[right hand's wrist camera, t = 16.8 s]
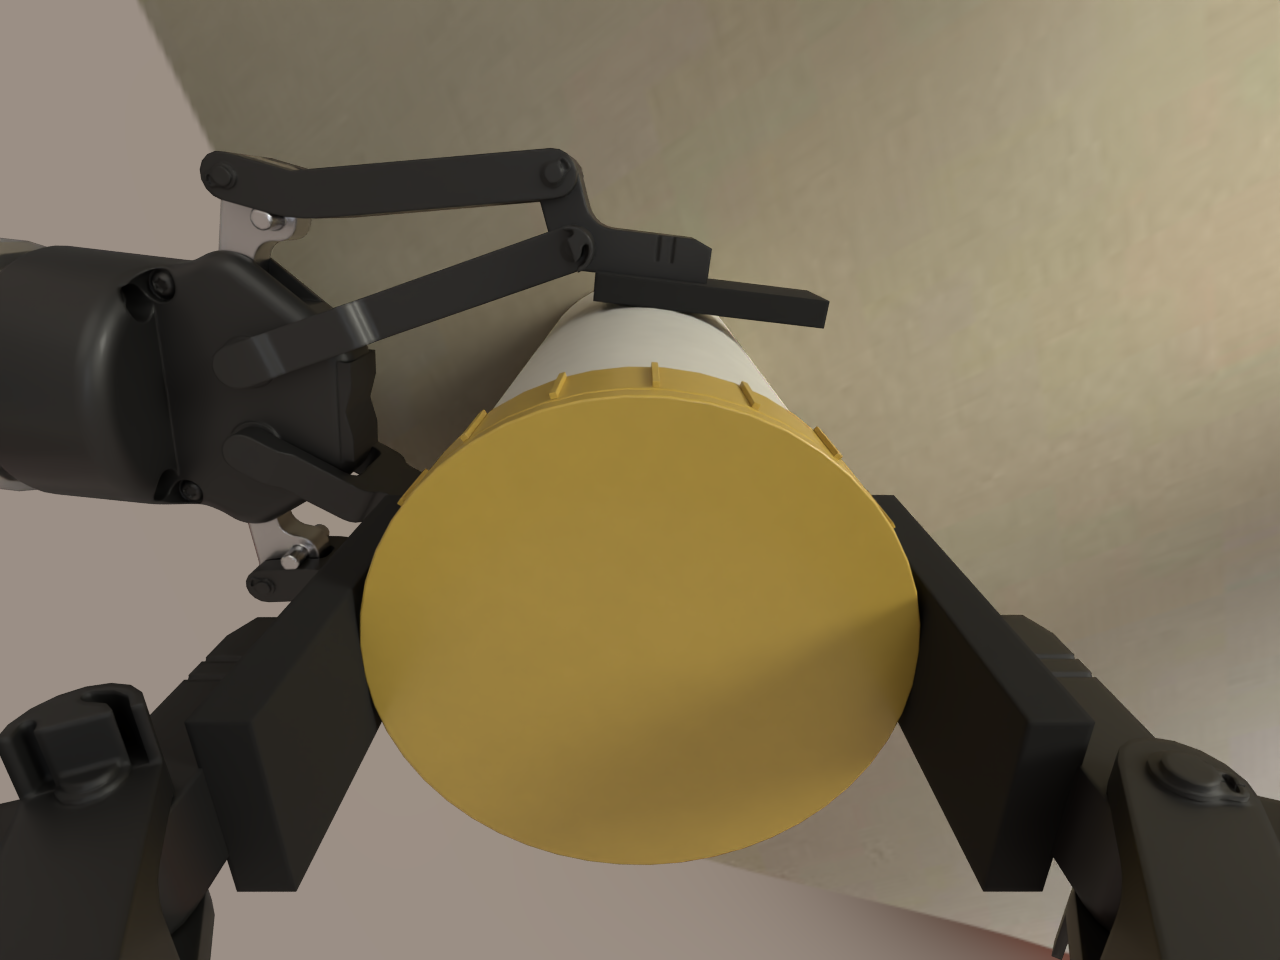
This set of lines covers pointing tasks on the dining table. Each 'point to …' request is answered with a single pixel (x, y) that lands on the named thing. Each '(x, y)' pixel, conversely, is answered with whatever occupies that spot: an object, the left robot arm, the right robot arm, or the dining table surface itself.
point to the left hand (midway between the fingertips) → (784, 451)
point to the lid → (639, 619)
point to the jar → (638, 346)
